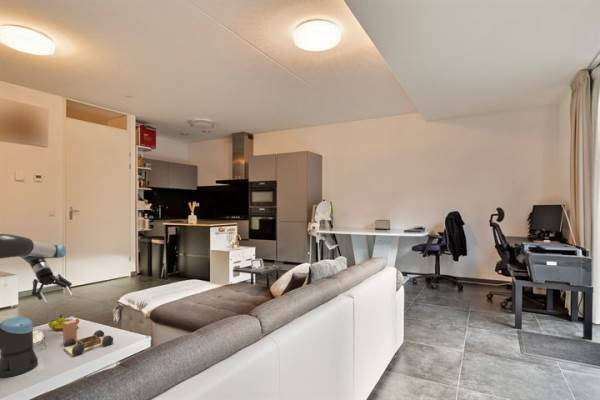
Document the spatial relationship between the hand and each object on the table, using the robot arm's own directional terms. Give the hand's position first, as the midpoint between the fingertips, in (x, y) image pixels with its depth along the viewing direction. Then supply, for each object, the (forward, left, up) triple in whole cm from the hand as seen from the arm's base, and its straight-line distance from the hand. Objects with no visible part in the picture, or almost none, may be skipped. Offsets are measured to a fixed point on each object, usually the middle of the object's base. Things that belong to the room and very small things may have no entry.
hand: (58, 299), depth 187 cm
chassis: (+7, -24, -23) cm, 34 cm away
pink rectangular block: (+2, -10, -23) cm, 26 cm away
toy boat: (+6, +18, -24) cm, 30 cm away
